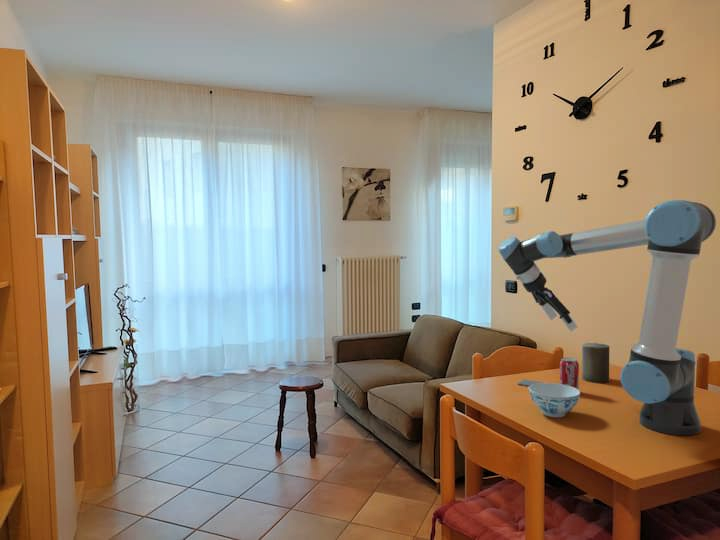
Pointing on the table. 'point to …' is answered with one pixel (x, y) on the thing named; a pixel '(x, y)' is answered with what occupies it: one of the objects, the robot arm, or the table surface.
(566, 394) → the chinaware
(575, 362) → the beverage can
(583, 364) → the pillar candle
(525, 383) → the mat
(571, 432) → the table surface
